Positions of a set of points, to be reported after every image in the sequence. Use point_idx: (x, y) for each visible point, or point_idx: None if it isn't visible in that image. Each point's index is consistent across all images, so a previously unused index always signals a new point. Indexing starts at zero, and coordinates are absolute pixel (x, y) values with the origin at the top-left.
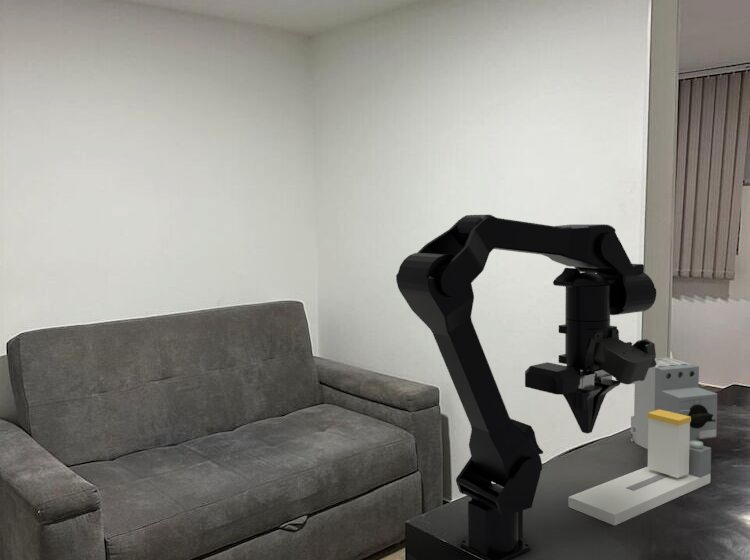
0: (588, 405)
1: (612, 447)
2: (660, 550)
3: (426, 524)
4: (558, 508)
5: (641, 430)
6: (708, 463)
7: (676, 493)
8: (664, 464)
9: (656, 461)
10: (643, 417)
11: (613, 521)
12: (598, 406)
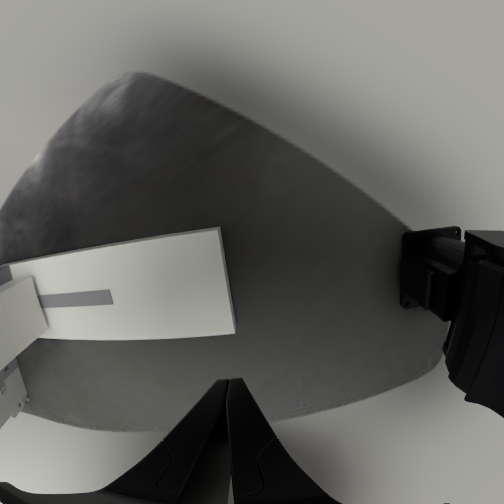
0: (283, 468)
1: (53, 406)
2: (225, 118)
3: (434, 357)
4: (255, 328)
5: (14, 396)
6: None
7: (53, 255)
8: (28, 306)
9: (33, 320)
10: (3, 404)
11: (219, 229)
12: (176, 452)
